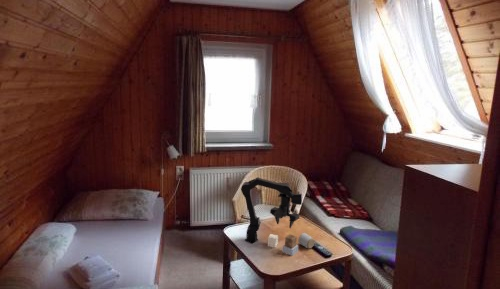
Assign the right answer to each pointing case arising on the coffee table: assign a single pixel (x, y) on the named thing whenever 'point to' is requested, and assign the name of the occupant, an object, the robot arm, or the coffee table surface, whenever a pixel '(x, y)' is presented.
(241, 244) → the coffee table surface
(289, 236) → the walnut block
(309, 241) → the ceramic mug
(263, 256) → the coffee table surface
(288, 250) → the light gray block
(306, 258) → the coffee table surface
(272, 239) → the cream block
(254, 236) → the robot arm
